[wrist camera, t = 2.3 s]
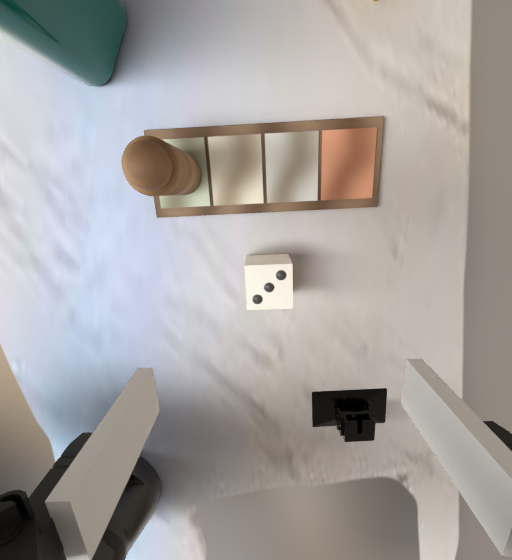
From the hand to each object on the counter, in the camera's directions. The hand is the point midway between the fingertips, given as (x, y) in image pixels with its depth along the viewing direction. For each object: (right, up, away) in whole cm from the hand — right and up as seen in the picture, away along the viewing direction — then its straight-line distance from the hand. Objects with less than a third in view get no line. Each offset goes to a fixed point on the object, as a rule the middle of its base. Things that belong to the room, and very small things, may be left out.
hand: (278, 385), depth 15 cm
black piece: (+12, -13, +26) cm, 32 cm away
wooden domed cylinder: (-9, +17, +16) cm, 25 cm away
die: (0, +6, +20) cm, 21 cm away
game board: (0, +18, +16) cm, 24 cm away
